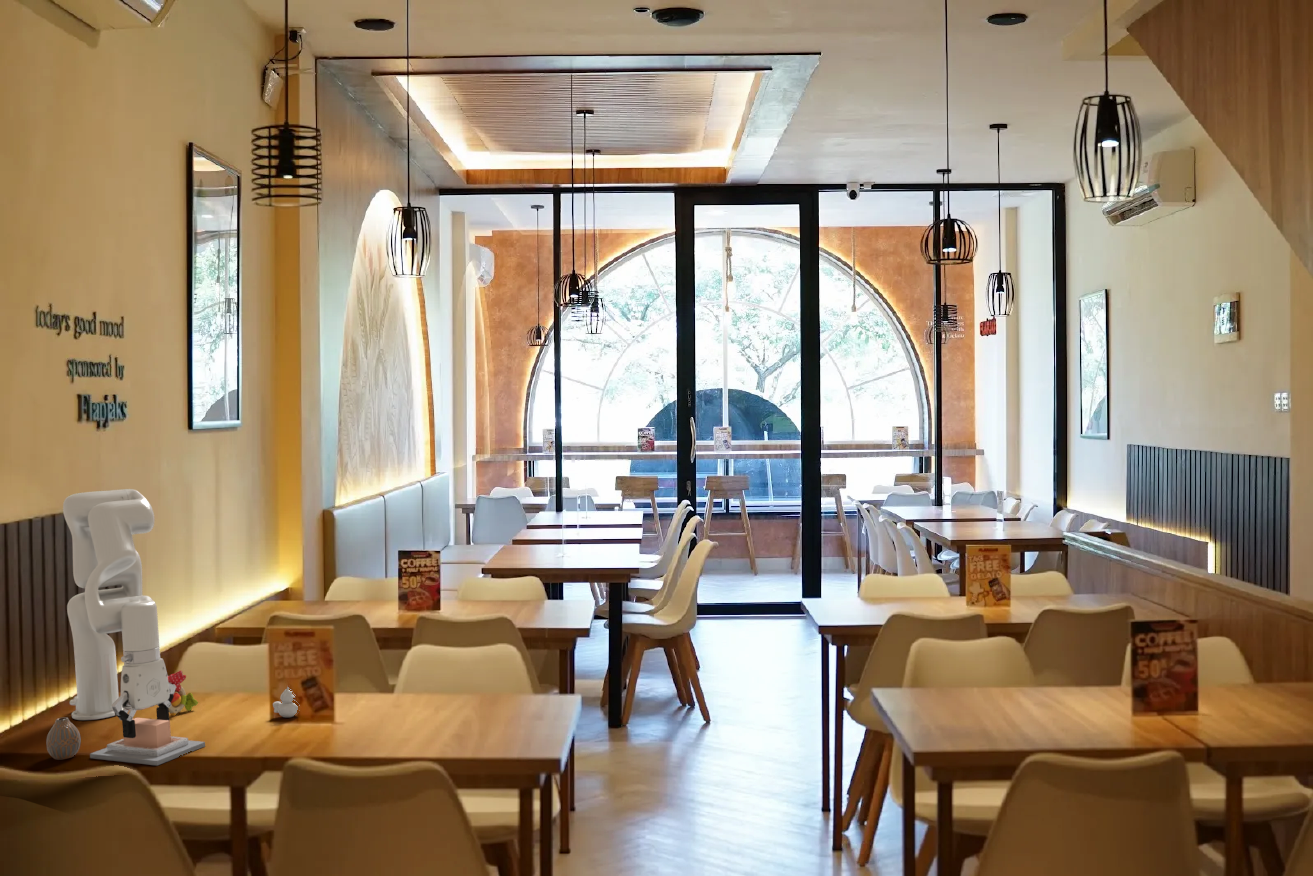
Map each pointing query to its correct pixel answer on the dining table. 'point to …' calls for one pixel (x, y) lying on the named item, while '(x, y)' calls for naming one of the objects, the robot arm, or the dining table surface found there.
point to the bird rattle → (180, 695)
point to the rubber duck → (286, 704)
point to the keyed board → (147, 751)
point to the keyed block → (150, 733)
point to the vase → (63, 739)
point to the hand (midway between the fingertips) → (146, 731)
